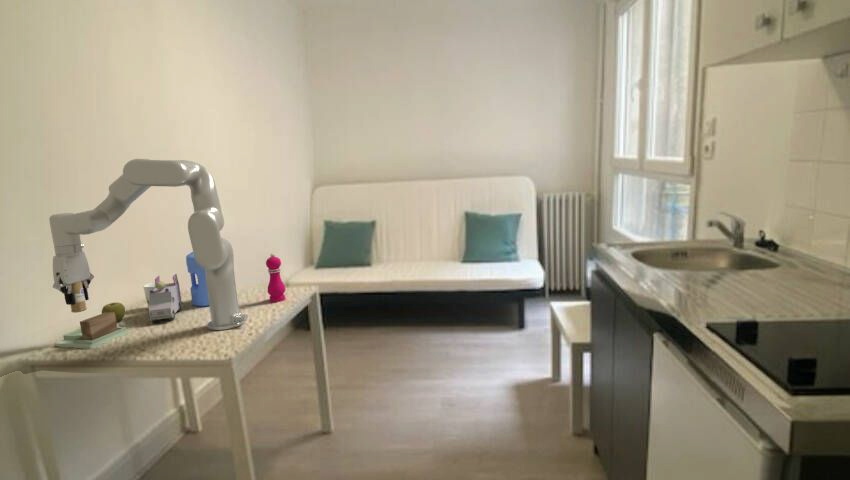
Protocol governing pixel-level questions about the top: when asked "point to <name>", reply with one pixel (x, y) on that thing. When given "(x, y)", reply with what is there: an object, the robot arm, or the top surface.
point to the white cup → (147, 290)
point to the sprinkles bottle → (78, 297)
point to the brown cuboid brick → (98, 326)
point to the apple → (115, 310)
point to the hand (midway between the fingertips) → (77, 301)
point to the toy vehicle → (164, 300)
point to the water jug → (200, 289)
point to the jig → (77, 340)
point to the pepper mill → (275, 279)
